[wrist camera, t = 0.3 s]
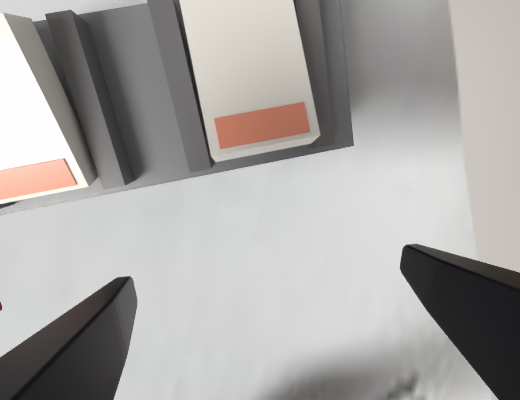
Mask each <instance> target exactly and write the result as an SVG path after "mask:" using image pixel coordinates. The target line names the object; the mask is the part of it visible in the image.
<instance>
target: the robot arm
mask: <svg viewBox="0 0 520 400" xmlns="http://www.w3.org/2000/svg"><path fill="white" fill-rule="evenodd" d="M400 270H401V272H402V274H403V276H404V277H405V279H406V280H407V282H408V283H409V285H410V286H411V288H412V289H413V291H414V292H415V294H416V295H417V297H418V298H419V300H420V301H421V303H422V304H423V306H424V307H425V308H426V310H427V311H428V312H429V314H430V315H431V316H432V318H433V319H434V320H435V321H436V323H437V324H438V325H439V326H440V328H441V329H442V330H443V331H444V332H445V334H446V335H447V336H448V337H449V339H450V340H451V341H452V342H453V344H454V345H455V346H456V347H457V349H458V350H459V351H460V352H461V354H462V355H463V356H464V357H465V359H466V360H467V361H468V362H469V364H470V365H471V366H472V367H473V368H474V370H475V371H476V372H477V373H478V375H479V376H480V377H481V378H482V380H483V381H484V382H485V383H486V385H487V386H488V387H489V388H490V390H491V391H492V392H493V393H494V395H495V396H496V397H497V398H498V399H499V400H520V273H519V272H516V271H512V270H508V269H505V268H501V267H498V266H494V265H490V264H487V263H483V262H480V261H476V260H473V259H469V258H466V257H462V256H458V255H455V254H451V253H448V252H444V251H440V250H437V249H433V248H430V247H426V246H423V245H419V244H410V245H405V246H404V247H403V250H402V256H401V262H400ZM136 309H137V296H136V292H135V287H134V282H133V279H132V278H131V277H130V276H127V277H118V278H116V279H114V280H113V281H111V282H110V283H108V284H107V285H105V286H104V287H102V288H101V289H99V290H98V291H97V292H95V293H94V294H92V295H91V296H89V297H88V298H86V299H85V300H83V301H82V302H81V303H79V304H78V305H76V306H75V307H73V308H72V309H70V310H69V311H67V312H66V313H64V314H63V315H62V316H60V317H59V318H57V319H56V320H54V321H53V322H51V323H50V324H48V325H47V326H46V327H44V328H43V329H41V330H40V331H38V332H37V333H35V334H34V335H32V336H31V337H29V338H28V339H27V340H25V341H24V342H22V343H21V344H19V345H18V346H16V347H15V348H13V349H12V350H11V351H9V352H8V353H6V354H5V355H3V356H2V357H0V400H113V399H114V396H115V393H116V390H117V387H118V384H119V381H120V377H121V374H122V371H123V368H124V365H125V361H126V358H127V354H128V350H129V345H130V340H131V335H132V330H133V325H134V319H135V314H136Z"/></svg>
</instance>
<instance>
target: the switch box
mask: <svg viewBox="0 0 520 400" xmlns="http://www.w3.org/2000/svg"><path fill="white" fill-rule="evenodd" d="M147 2H148V3H147V4H141V5H135V6H129V7H123V8H116V9H110V10H104V11H98V12H92V13H86V14H79V15H77V14H75V13H74V12H73V11H71V10H67V11H61V12H55V13H49V14H45V16H46V19H47V20H42V21H36V22H33V24H34V26H35V28H36V30H37V32H38V35H39V37H40V39H41V41H42V43H43V46H44V48H45V50H46V52H47V54H48V56H49V59H50V61H51V63H52V65H53V67H54V70H55V72H56V74H57V76H58V78H59V80H60V83H61V85H62V87H63V89H64V91H65V94H66V96H67V98H68V100H69V102H70V104H71V107H72V109H73V111H74V113H75V115H76V118H77V120H78V122H79V124H80V126H81V129H82V131H83V133H84V135H85V137H86V140H87V143H88V146H89V149H90V152H91V155H92V158H93V161H94V164H95V167H96V170H97V173H98V176H99V177H98V178H97V179H96V180H95V181H94V182H93V183H92V184H91V185H90V186H89V187H85V188H80V189H75V190H70V191H65V192H59V193H54V194H49V195H44V196H39V197H34V198H29V199H23V200H18V201H13V202H8V203H3V204H0V215H4V214H9V213H14V212H20V211H25V210H30V209H35V208H40V207H45V206H50V205H55V204H60V203H65V202H70V201H75V200H81V199H86V198H91V197H96V196H101V195H106V194H111V193H116V192H121V191H126V190H131V189H136V188H142V187H147V186H152V185H157V184H162V183H167V182H172V181H177V180H182V179H187V178H192V177H197V176H203V175H208V174H213V173H218V172H223V171H228V170H233V169H238V168H243V167H248V166H253V165H258V164H264V163H269V162H274V161H279V160H284V159H289V158H294V157H299V156H304V155H309V154H314V153H319V152H325V151H330V150H335V149H340V148H345V147H350V146H354V142H353V132H352V122H351V112H350V102H349V91H348V81H347V71H346V61H345V51H344V41H343V31H342V21H341V11H340V0H293V2H294V7H295V12H296V17H297V22H298V27H299V32H300V37H301V42H302V47H303V52H304V57H305V62H306V66H307V71H308V76H309V81H310V86H311V91H312V96H313V101H314V106H315V111H316V116H317V121H318V126H319V130H320V136H319V137H318V138H317V139H316V140H314V141H313V142H312V143H311V144H307V145H301V146H296V147H291V148H286V149H281V150H276V151H271V152H265V153H260V154H255V155H250V156H245V157H240V158H235V159H229V160H224V161H219V162H215V161H214V159H213V158H212V157H211V153H210V148H209V143H208V138H207V133H206V128H205V124H204V119H203V114H202V109H201V104H200V99H199V94H198V89H197V84H196V79H195V75H194V70H193V65H192V60H191V55H190V50H189V45H188V40H187V35H186V30H185V25H184V21H183V16H182V11H181V6H180V1H179V0H147Z"/></svg>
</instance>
